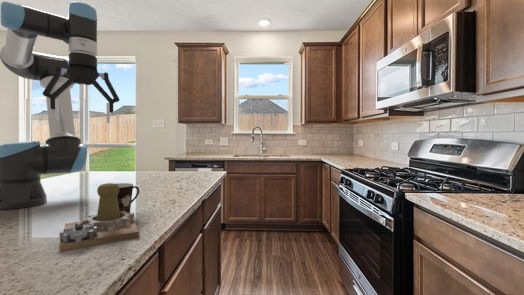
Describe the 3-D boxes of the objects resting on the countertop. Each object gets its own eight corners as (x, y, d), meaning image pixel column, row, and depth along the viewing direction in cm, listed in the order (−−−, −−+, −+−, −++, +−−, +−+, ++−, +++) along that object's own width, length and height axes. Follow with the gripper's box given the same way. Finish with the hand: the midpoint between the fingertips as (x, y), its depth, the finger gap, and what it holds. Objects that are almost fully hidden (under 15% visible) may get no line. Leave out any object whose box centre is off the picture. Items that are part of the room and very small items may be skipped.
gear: (61, 235, 64) (61, 222, 64) (96, 230, 68) (96, 217, 68) (58, 245, 58) (58, 231, 58) (97, 239, 62) (97, 225, 61)
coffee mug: (105, 223, 78) (105, 189, 78) (99, 216, 84) (99, 185, 84) (146, 215, 86) (146, 184, 85) (138, 210, 92) (138, 181, 92)
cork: (109, 228, 69) (109, 186, 69) (90, 226, 70) (89, 185, 70) (126, 221, 75) (126, 182, 74) (107, 219, 76) (107, 181, 76)
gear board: (65, 228, 73) (65, 216, 72) (130, 219, 81) (130, 208, 81) (59, 251, 58) (59, 235, 58) (139, 237, 67) (139, 223, 67)
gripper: (29, 43, 75) (30, 119, 76) (128, 59, 89) (128, 123, 90) (34, 50, 81) (35, 120, 82) (125, 63, 95) (125, 123, 96)
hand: (83, 121), depth 86 cm, fingers open, 13 cm apart
